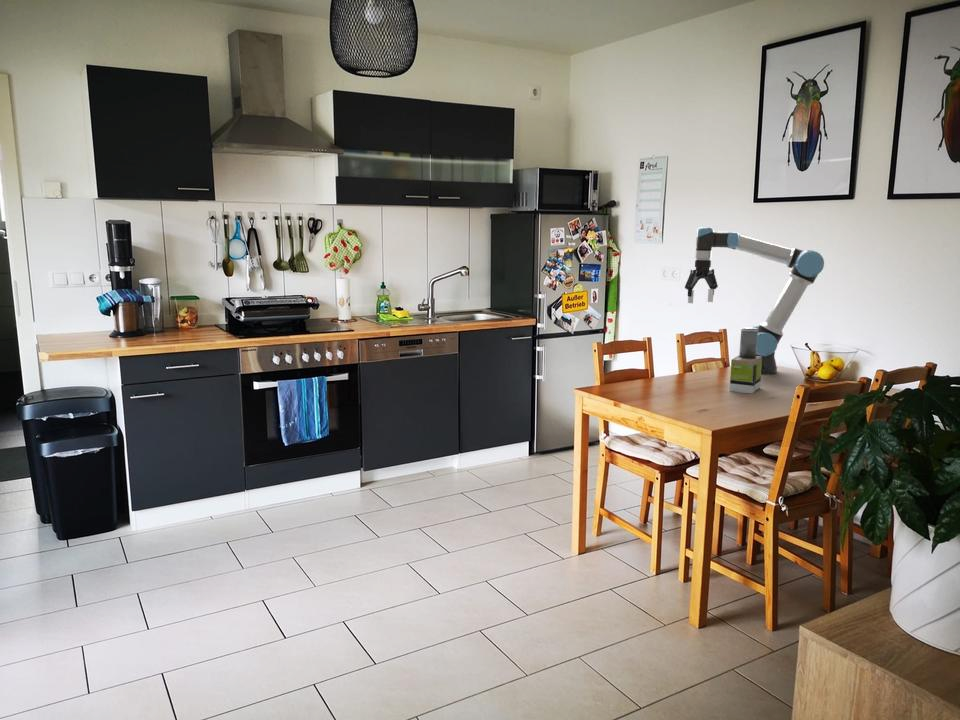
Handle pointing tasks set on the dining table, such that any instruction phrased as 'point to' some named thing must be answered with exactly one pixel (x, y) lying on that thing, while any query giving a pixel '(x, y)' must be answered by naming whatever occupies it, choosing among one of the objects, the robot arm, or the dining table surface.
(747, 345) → the tin canister
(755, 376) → the tea box
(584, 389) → the dining table surface
